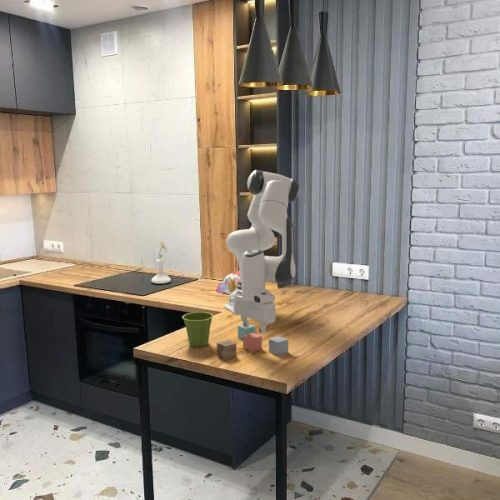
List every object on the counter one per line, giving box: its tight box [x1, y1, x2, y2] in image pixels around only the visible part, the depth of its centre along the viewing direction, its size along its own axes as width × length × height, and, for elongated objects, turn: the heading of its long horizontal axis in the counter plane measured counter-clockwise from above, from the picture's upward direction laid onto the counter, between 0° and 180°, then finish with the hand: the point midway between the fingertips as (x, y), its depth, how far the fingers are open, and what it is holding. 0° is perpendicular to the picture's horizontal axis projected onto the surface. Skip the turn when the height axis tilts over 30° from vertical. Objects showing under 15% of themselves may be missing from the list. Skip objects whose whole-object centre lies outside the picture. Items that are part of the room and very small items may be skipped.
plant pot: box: [181, 311, 214, 348], centre depth 195 cm, size 12×12×11 cm
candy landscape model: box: [215, 270, 240, 295], centre depth 284 cm, size 25×24×9 cm
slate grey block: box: [268, 335, 289, 356], centre depth 187 cm, size 5×5×5 cm
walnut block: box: [216, 339, 237, 360], centre depth 183 cm, size 5×5×5 cm
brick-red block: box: [242, 333, 263, 353], centre depth 191 cm, size 5×5×5 cm
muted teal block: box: [237, 323, 257, 340], centre depth 203 cm, size 5×5×5 cm
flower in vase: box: [150, 240, 172, 285], centre depth 300 cm, size 13×11×25 cm
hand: (254, 330), depth 190 cm, fingers open, 8 cm apart
